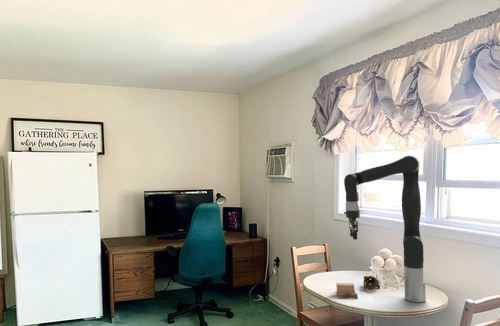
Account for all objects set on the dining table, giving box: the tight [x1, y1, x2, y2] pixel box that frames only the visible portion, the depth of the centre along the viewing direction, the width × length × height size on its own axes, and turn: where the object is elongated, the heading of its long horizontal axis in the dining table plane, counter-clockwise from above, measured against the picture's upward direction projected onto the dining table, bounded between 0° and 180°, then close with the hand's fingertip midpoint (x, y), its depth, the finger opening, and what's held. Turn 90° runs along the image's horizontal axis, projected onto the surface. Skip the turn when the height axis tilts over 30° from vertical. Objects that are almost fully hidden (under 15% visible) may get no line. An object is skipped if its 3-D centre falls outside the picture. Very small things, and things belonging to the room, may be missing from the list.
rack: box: [337, 288, 359, 300], centre depth 194 cm, size 10×10×2 cm
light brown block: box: [336, 282, 355, 295], centre depth 194 cm, size 9×4×5 cm, turn 84°
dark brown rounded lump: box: [362, 275, 381, 291], centre depth 204 cm, size 12×9×8 cm
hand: (353, 237), depth 201 cm, fingers open, 8 cm apart
